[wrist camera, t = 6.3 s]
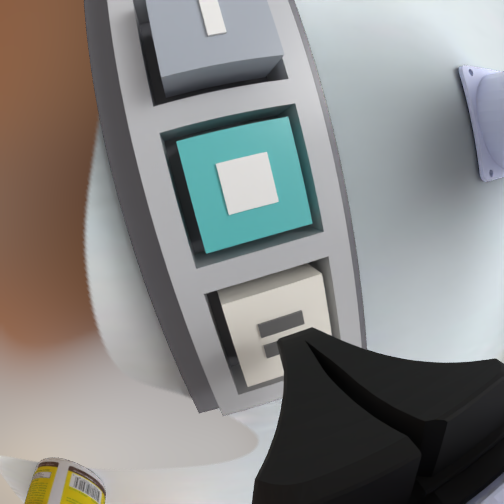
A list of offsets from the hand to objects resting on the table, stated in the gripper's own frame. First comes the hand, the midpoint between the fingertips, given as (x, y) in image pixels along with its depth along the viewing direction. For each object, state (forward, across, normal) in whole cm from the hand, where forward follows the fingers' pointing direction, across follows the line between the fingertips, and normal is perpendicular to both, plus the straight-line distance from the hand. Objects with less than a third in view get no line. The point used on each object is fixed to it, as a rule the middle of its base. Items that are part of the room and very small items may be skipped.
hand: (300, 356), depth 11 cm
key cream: (+4, 0, 0) cm, 4 cm away
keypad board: (+5, 0, -9) cm, 10 cm away
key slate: (+3, 0, -12) cm, 12 cm away
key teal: (+4, 0, -6) cm, 7 cm away
